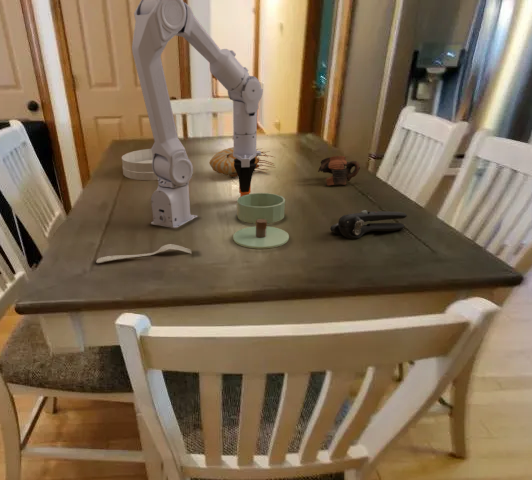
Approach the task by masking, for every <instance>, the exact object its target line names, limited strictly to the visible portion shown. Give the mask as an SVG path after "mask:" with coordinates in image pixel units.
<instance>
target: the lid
mask: <svg viewBox="0 0 532 480" xmlns="http://www.w3.org/2000/svg"><path fill="white" fill-rule="evenodd" d="M289 240H290V235H289V233H288V232H287V231H286V230H284V229H282V228H278V227H274V226H268V223H267V220H265V219H258V220H256V224H255V226H248V227H244V228H241V229H239V230H237V231H235V232H234V233H233V235H232V241H233V242H234V243H235V244H237V245H238V246H241V247H244V248H248V249H253V250H254V249H256V250H257V249H258V250H267V249H268V250H269V249H274V248H277V247H278V248H279V247H281V246H283V245H285V244H286V243H288V242H289Z"/></svg>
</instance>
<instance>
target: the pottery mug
mask: <svg viewBox="0 0 532 480" xmlns="http://www.w3.org/2000/svg"><path fill="white" fill-rule="evenodd" d="M353 168H354V170H353V171H352V169H353ZM360 170H361V167H360V163H359V162H358V161H356V160H351V161H347V157H346V156H343V155H334V156H329V157H325V158H323V159H322V160H321V161H320V166H319V167H318V170H317V172H318V173H320V172H322V173H324V174H326V173H327V174H332V176H328V177H326V178H325V182H326V187H329V186H335V185H337V186H346V185H347V181H348V182H349V181H351V179H352V178H354V177H356V176H357V175H358V174H359V172H360ZM351 171H352V172H351Z"/></svg>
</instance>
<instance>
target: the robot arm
mask: <svg viewBox="0 0 532 480" xmlns="http://www.w3.org/2000/svg"><path fill="white" fill-rule="evenodd" d="M133 15H134V21H135V23H134V30H133V38H132V43H131V51H132V52H131V53H132V56H133V60H134V65H135V68H136V71H137V72H136V73H137V77H138V80H139V84H140V88H141V92H142V97H143V100H144V104H145V109H146V113H147V116H148V121H149V124H150V125H149V126H150V129H151V133H152V138H153V141H154V143H153V145H152V146H151V148H150V149H151V150H152V155H153V159H152V169H153V172H154V173H155V175H156V176H158V180H157V184H158V185H157V187H156V189H155V190H154V191H153V192H152V193H151V196H150V204H151V213H152V221H151V222H150V224H151V225H154V226H161V227H166V228H171V229H177V228H179V227H180V226H182V225H185V224H186V223H188V222H191V221H193V219H195V218H198V215H196V214H191V202H190V186H189V185H190V180H191V179H192V177H193V173H194V166H193V163H192V161H191V159H190V158H189V157H188V154H187V155H186V152H187V151H186V150H187V149H186V148H185V146H184V144H182V142H181V140H180V139H179V136H178V131H177V127H176V123H175V118H174V114H173V108H172V104H171V99H170V94H169V90H168V85H167V79H166V76H165V71H164V66H163V62H162V54H163V52H164V50H165V48H166V47H167V45H168V43H169V42H170V41H171V40H172V39H173V38H174V37H175V36H176V37H182V38H183V39H184V40H185V41H186V42H188V43H189V44H190V46H192V47H193V48H194V50H196V51H197V52H198V53H199V54H200V55H201V56H202V57H203V58H204V59H205V60H206V61H207V62H208V63H209V72H210V73H211V74H212V76H213V77H214V78H215V79H216V80H217V81H218V82H219V83H220V84H221V85H222V87H223V88H224V89H225V90H226V91H227V96H228V99H229V100H230V101H232V113H233V115H232V117H233V118H232V119H233V120H232V121H233V122H232V123H233V124H232V125H233V133H232V134H233V147H234V152H233V156H234V157H235V158H237V159H234V162H235V163H234V167H235V170H236V172H237V175H238V176H237V178H238V186H239V185H240V190H241V192H249V189H250V184H251V183H252V178H253V174H254V172H255V171H254V170H256V169H255V168H256V163H255V161H256V158H255V156H257V155H262V153H261V152H262V151H261V150H256V149H257V137H258V136H257V135H258V134H257V132H258V131H257V129H258V127H257V126H258V110H259V103H260V101H261V99H262V96H263V93H264V89H263V88H262V85H261V82H260V80H259V79H258V78H257V76H255V75H250V73H249V69H248V68H247V67H246V66H243V64H241V62H240V61H239V60H238V59H237V58H236V52H235V51H234V50H232V49H231V50H230V49H228V48H222V49H221V48H220V47H219V46H218V44H217V43H216V41H215V40H214V39H213V38H212V37H211V35H210V34H209V33H208V31H207V30H206V28H205V27H204V26H203V25H202V24H201V23H200V21H199V20H198V19H197V18H196V15H194V12H193V10H192V8H191V6H190V5H189V4H188V3H186V2H184V0H140V1H139V3H138V5H137V6H136V8H135V10H134V12H133ZM257 157H258V156H257Z"/></svg>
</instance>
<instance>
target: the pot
mask: <svg viewBox="0 0 532 480" xmlns="http://www.w3.org/2000/svg"><path fill="white" fill-rule="evenodd" d="M285 212H286V198H285V197H284V196H283V195H281V194H277V193H270V192H252V193H249V194H247V195H243V196H241V197H240V196H239V197H238V198H237V200H236V217H237V219H238V220H239V221H241V222H245V223H249V224H253V225H256V220H258V219H265V220H267V224H274V223H277V222H279V221H281V220H283V219H284V218H285V214H286V213H285Z"/></svg>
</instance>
